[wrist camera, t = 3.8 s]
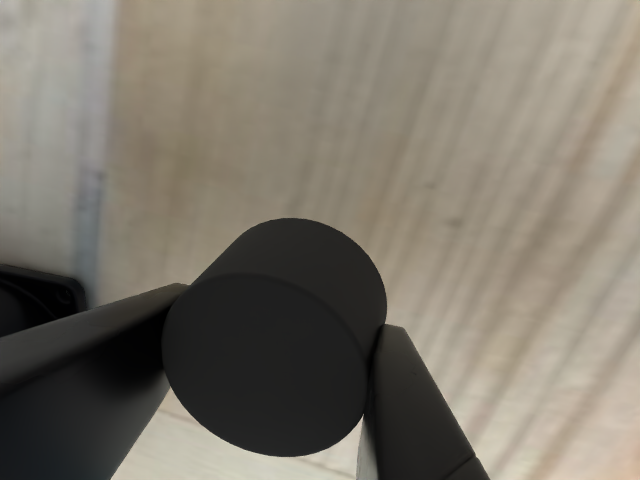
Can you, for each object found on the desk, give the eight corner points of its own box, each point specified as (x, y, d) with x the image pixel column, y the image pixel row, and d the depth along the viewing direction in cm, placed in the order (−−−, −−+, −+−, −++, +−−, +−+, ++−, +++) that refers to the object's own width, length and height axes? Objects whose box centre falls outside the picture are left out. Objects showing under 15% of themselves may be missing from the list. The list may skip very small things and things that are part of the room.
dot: (219, 351, 11) (162, 432, 9) (220, 202, 10) (152, 255, 8) (375, 385, 11) (356, 480, 8) (400, 232, 9) (384, 298, 7)
